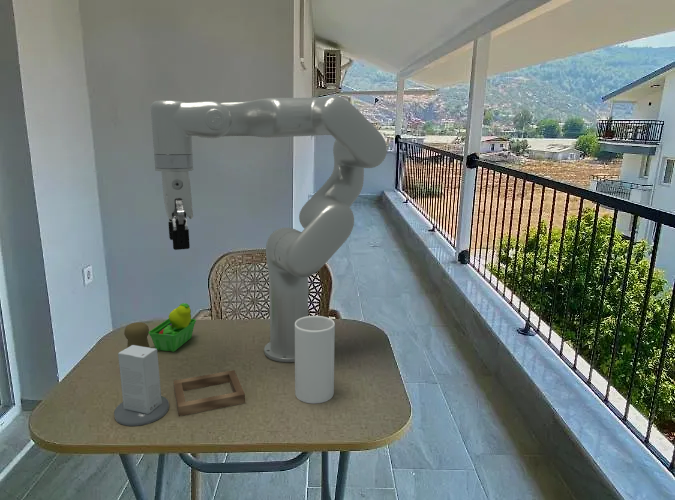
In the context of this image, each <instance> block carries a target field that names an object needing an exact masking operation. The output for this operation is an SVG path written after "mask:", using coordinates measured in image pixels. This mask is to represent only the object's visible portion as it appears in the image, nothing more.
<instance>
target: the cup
mask: <svg viewBox="0 0 675 500" xmlns="http://www.w3.org/2000/svg"><path fill="white" fill-rule="evenodd" d="M335 327H336V325H335V321H334V319H332V318H331V317H330V318H329V317H327V316H323V315H308V316H306V317H302V318H300V319H298V320H296V322H295V362H294V395H295V397H296V398H297V400H299V401H300V402H302V403H306V404H321V403H325V402H327V401H329V400H332V398H333V396H334V395H335V393H334V392H335V388H334V387H335V333H336V332H335V331H336V328H335Z"/></svg>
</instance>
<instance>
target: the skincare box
mask: <svg viewBox="0 0 675 500" xmlns="http://www.w3.org/2000/svg"><path fill="white" fill-rule="evenodd" d="M117 355H118V356H117V357H118V364H119V365H118V366H119V377H120V384H121V396H122V402H123V406H124V409H127V410H131V411H136V412H141V413H146V414H149V413H151V412H152V411H153V410H154V409H156V408H157V407H158V406H159V405H161V404H162V400H161V396H162V391H161V380H160V379H161V377H160V367H159V358H158V357H159V356H158V350H157V349H156V348H155V347H152V348H151V347H149V348H148V347H142V346H136V345H132V346H130V347H128V348H125V349H122V350H121V351H119V352H118V353H117Z"/></svg>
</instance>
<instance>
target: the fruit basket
mask: <svg viewBox="0 0 675 500" xmlns="http://www.w3.org/2000/svg"><path fill="white" fill-rule="evenodd" d="M196 322H197V319H195V318H192V309H191V308H190V305H189V304H188V303H187V302H186V303H184V302H182V303H180V304H179V306H177V307H176V308H174V309H172V311H170V312H169V314H168V318H167V319H166V320H164V321H163V322H161V323H159V324H158V325H157V326H155V327H154V328H152V329H151V330H149V334H148V336H149V337H150V338H151V340H152V342H153V345H154V348H155V349H157V351H164V352H176V351H177V350H178V349H179V348H181V347H182V346H183V345H184V344H185V343H187V342H188V341H189V340H191V339H192V336H193V333H194V329H195V328H194V327H195V324H196Z"/></svg>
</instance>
